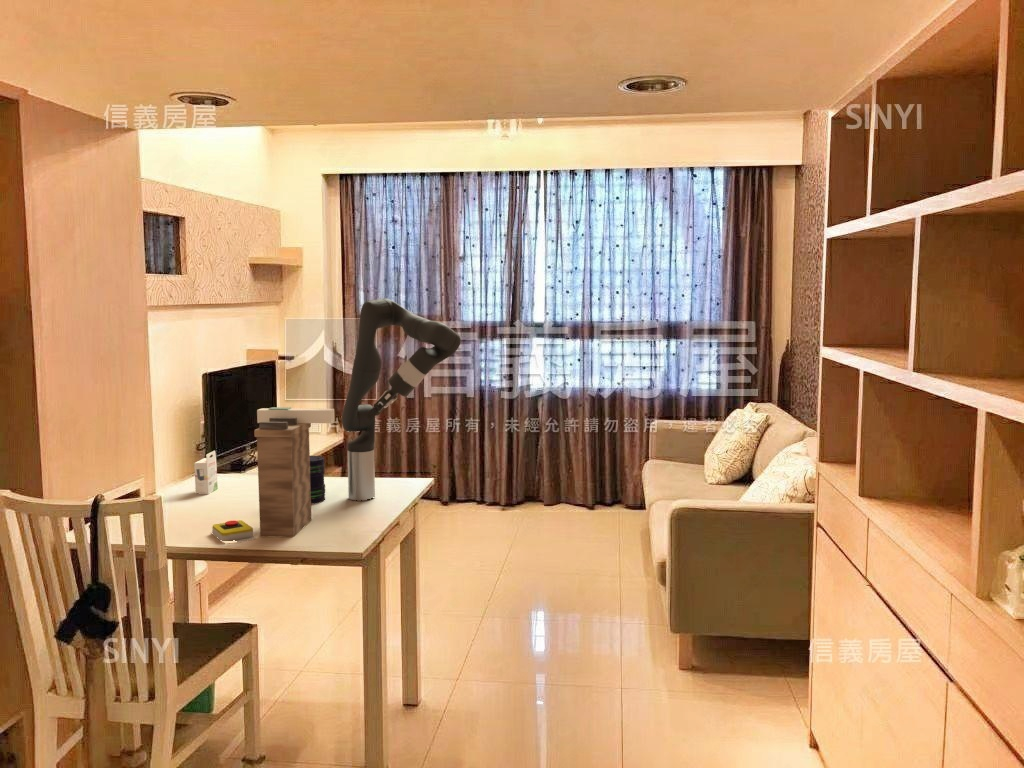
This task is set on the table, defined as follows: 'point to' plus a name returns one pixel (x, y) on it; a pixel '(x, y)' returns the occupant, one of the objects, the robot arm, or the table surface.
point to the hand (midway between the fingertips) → (371, 415)
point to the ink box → (206, 474)
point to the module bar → (296, 414)
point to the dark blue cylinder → (317, 479)
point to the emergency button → (233, 531)
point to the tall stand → (283, 476)
